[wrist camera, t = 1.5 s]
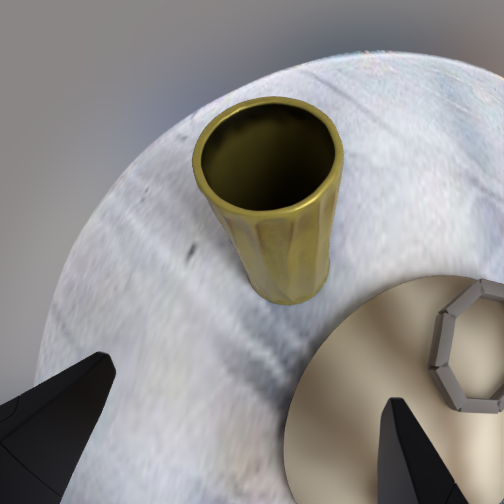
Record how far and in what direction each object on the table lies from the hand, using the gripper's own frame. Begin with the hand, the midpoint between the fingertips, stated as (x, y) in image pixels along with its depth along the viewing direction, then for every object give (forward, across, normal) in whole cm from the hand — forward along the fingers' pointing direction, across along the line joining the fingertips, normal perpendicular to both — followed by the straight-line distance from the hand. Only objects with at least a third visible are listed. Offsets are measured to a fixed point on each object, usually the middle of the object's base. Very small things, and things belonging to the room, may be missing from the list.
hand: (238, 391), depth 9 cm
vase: (+15, 0, +4) cm, 16 cm away
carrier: (+7, -13, +12) cm, 19 cm away
